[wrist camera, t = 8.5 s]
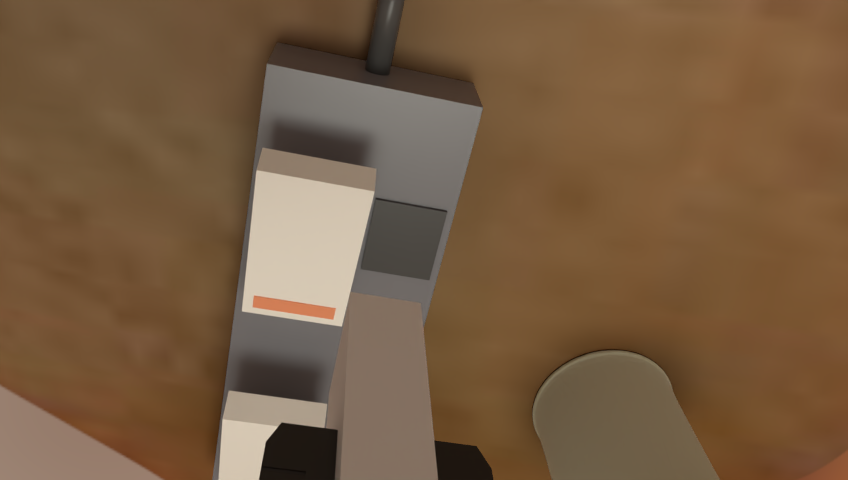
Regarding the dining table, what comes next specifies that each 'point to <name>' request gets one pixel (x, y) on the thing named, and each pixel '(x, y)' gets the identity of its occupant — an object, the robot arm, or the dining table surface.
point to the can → (616, 422)
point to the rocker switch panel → (392, 202)
